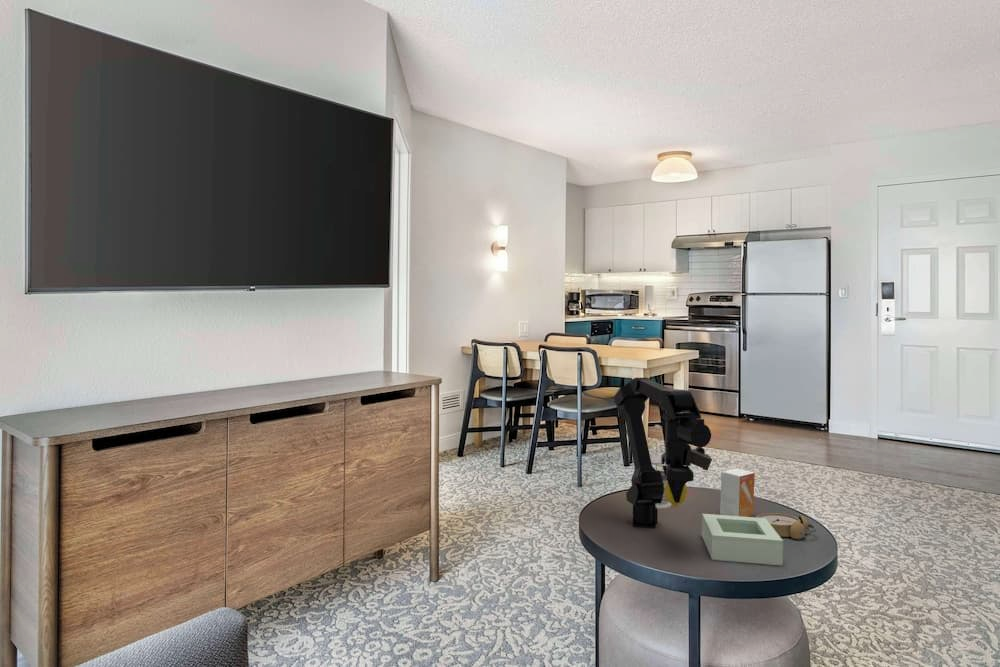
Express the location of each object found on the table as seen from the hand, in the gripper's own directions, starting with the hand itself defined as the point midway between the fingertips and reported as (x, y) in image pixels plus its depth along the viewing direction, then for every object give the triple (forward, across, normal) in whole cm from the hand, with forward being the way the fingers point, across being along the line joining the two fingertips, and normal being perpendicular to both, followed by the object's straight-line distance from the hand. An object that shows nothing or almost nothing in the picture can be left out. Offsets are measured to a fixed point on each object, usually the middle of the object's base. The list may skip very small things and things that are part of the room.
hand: (675, 498), depth 151 cm
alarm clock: (+12, +16, -31) cm, 37 cm away
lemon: (+2, 0, 0) cm, 2 cm away
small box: (+12, +28, -21) cm, 37 cm away
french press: (+12, +34, +3) cm, 36 cm away
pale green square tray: (+12, 0, -16) cm, 20 cm away
